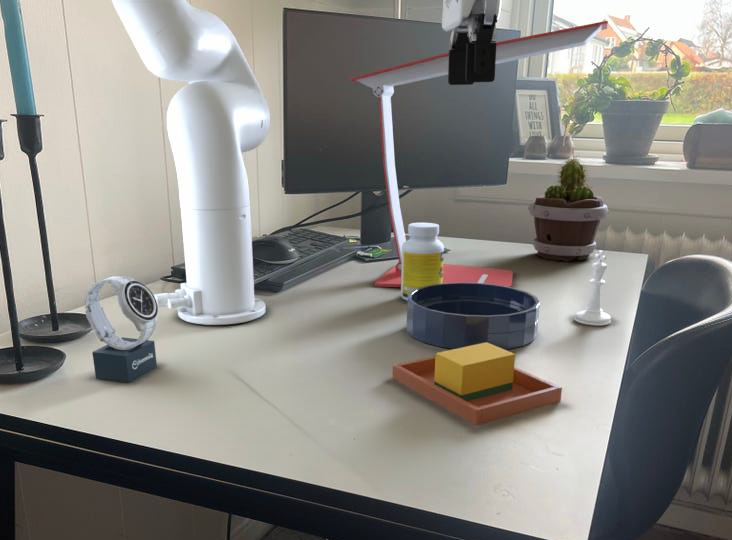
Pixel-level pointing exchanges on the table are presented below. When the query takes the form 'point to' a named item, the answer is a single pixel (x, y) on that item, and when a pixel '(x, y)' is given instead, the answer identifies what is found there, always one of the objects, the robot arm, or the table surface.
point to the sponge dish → (519, 399)
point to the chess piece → (595, 297)
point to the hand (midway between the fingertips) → (469, 83)
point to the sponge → (475, 370)
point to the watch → (123, 354)
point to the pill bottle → (421, 258)
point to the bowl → (472, 315)
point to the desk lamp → (439, 67)
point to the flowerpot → (567, 216)
